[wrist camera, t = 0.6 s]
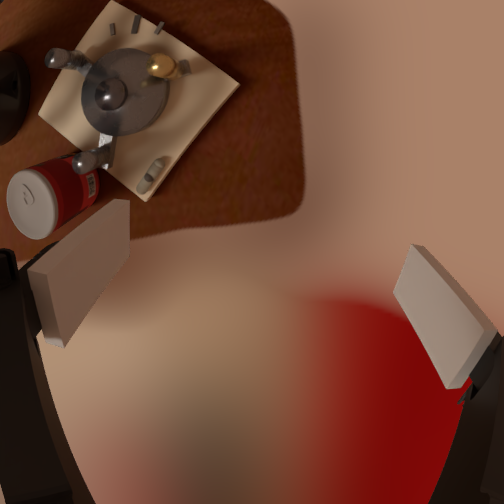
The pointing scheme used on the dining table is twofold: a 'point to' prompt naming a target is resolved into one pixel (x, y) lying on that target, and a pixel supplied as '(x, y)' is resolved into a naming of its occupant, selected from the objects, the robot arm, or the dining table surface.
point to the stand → (170, 121)
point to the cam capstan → (118, 95)
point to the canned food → (50, 196)
